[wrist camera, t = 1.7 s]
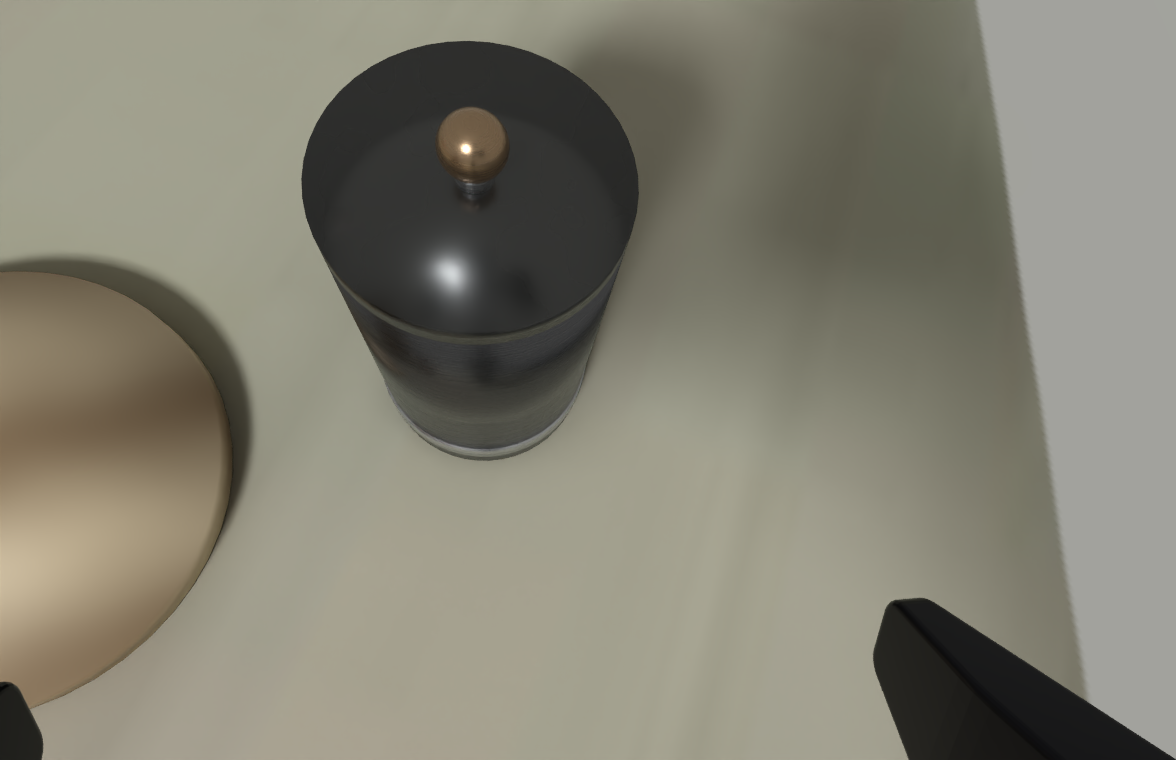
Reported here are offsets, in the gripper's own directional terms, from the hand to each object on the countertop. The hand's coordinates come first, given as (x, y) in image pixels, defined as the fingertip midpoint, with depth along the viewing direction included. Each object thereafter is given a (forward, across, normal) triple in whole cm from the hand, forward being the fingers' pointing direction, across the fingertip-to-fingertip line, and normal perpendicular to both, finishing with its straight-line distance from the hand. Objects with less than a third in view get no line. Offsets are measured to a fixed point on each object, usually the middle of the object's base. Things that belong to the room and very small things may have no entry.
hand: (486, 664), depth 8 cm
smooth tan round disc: (+13, +13, +6) cm, 20 cm away
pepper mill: (+15, 0, +4) cm, 16 cm away
